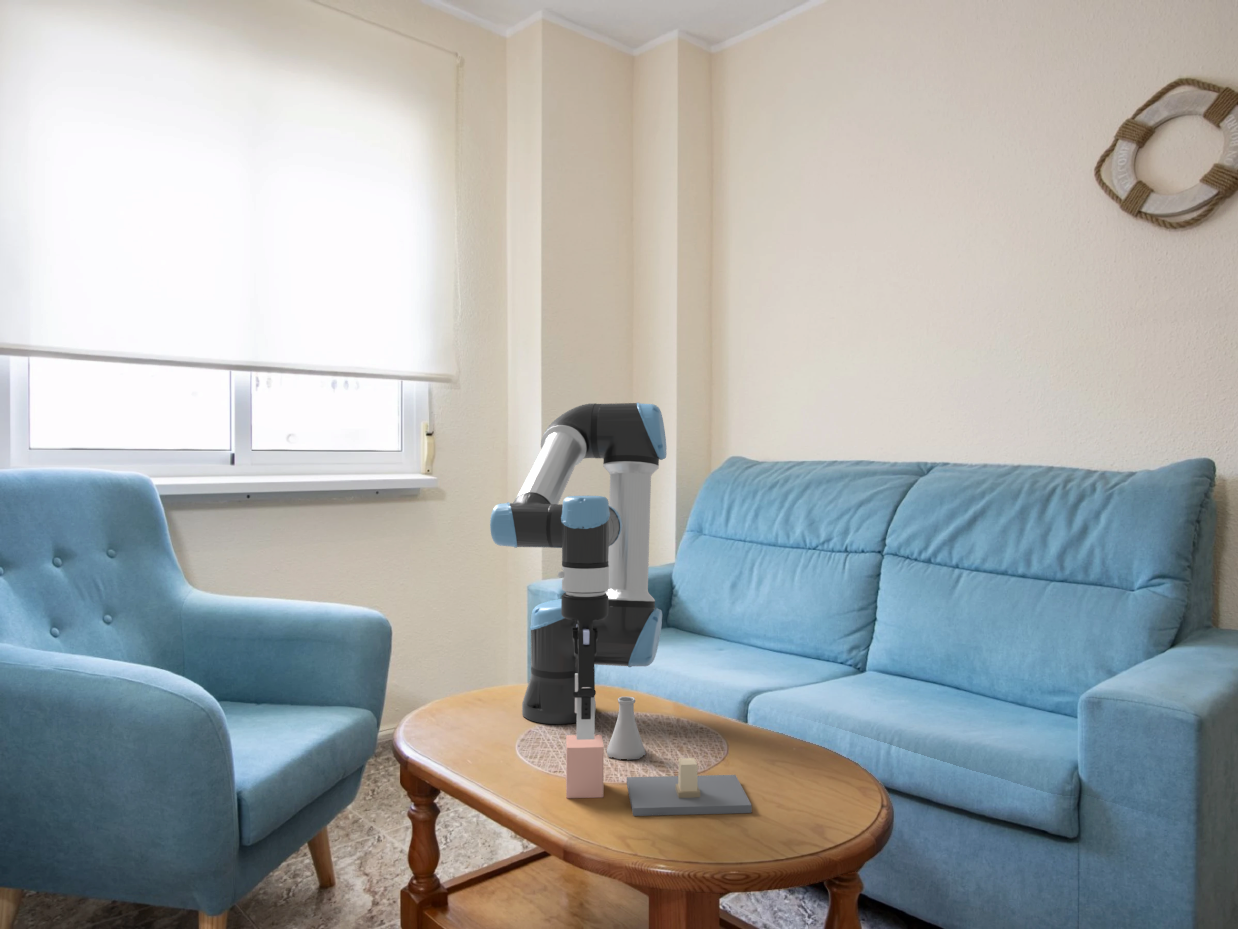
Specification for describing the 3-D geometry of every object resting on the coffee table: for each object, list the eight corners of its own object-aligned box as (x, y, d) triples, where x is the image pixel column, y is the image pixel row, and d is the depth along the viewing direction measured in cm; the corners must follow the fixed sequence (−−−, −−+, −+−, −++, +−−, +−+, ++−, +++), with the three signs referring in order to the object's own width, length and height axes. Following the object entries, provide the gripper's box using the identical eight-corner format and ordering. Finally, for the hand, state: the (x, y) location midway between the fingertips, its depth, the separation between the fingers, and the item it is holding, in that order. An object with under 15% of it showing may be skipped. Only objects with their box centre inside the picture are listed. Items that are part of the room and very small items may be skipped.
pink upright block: (566, 783, 143) (566, 735, 143) (601, 783, 143) (601, 734, 143) (566, 798, 137) (566, 747, 137) (603, 797, 138) (603, 747, 137)
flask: (642, 763, 153) (642, 706, 152) (602, 759, 154) (602, 703, 154) (649, 748, 160) (649, 694, 159) (610, 745, 161) (610, 692, 161)
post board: (626, 784, 143) (627, 747, 143) (735, 782, 144) (735, 744, 144) (633, 816, 131) (633, 775, 131) (751, 813, 132) (751, 772, 132)
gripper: (561, 581, 152) (560, 703, 152) (561, 606, 127) (560, 751, 127) (604, 581, 152) (603, 702, 152) (613, 606, 127) (612, 751, 127)
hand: (584, 725), depth 140 cm, fingers open, 13 cm apart
